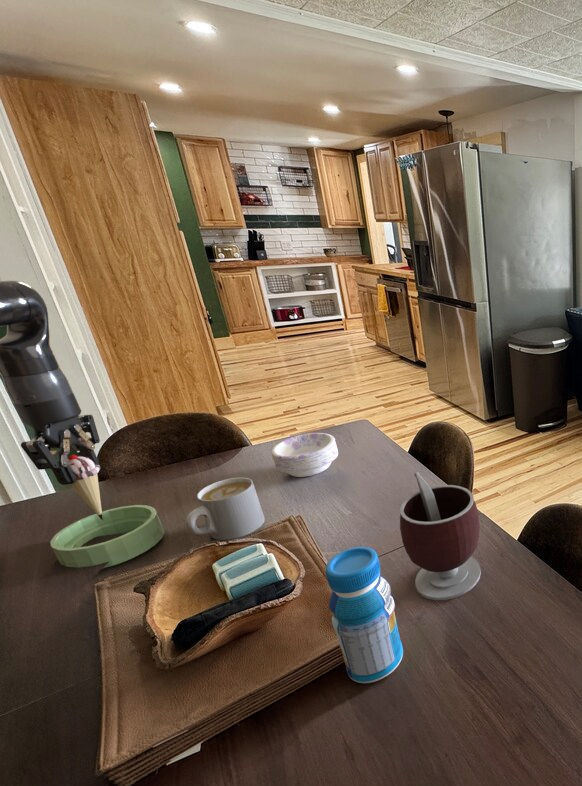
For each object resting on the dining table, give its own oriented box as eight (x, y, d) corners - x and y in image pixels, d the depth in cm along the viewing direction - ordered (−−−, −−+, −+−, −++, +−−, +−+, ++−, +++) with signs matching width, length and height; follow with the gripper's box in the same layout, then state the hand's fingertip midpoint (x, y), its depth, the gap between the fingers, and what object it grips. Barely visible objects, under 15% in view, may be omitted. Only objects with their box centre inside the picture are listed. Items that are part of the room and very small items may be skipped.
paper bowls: (285, 489, 122) (277, 462, 119) (273, 468, 133) (265, 442, 130) (347, 470, 132) (341, 444, 129) (332, 451, 142) (326, 427, 139)
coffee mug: (254, 509, 114) (242, 473, 110) (272, 523, 109) (260, 486, 105) (185, 537, 104) (169, 498, 100) (201, 554, 98) (185, 514, 95)
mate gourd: (498, 578, 92) (489, 490, 85) (430, 615, 84) (413, 521, 76) (460, 542, 103) (449, 460, 95) (396, 571, 94) (378, 484, 86)
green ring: (41, 581, 91) (27, 555, 89) (98, 533, 105) (87, 510, 103) (138, 567, 95) (126, 543, 92) (180, 523, 109) (171, 501, 106)
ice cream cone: (75, 526, 95) (42, 459, 89) (108, 510, 100) (79, 446, 94) (96, 530, 94) (64, 463, 88) (128, 514, 99) (100, 450, 93)
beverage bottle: (370, 695, 69) (342, 589, 62) (334, 671, 73) (304, 568, 65) (416, 653, 76) (396, 553, 69) (381, 632, 80) (358, 535, 72)
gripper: (48, 384, 92) (84, 461, 98) (-20, 410, 79) (26, 497, 86) (95, 381, 94) (127, 457, 100) (35, 407, 81) (77, 491, 87)
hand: (81, 475), depth 93 cm, fingers closed on ice cream cone, 5 cm apart
